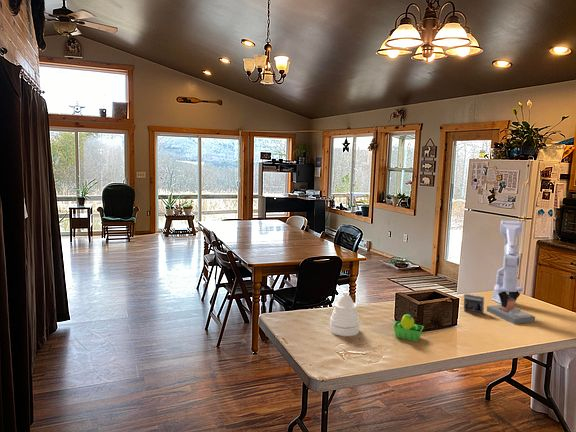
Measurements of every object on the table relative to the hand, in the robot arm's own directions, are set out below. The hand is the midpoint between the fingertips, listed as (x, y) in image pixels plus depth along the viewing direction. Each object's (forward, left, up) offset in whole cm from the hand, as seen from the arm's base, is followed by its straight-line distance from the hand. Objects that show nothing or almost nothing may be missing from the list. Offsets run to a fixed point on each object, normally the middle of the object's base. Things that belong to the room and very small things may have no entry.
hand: (507, 306), depth 215 cm
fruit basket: (+13, -63, -5) cm, 65 cm away
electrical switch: (-7, -14, -5) cm, 16 cm away
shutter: (+8, 0, -2) cm, 8 cm away
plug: (0, 0, -2) cm, 2 cm away
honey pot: (-1, -86, -5) cm, 86 cm away
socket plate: (+2, 0, -4) cm, 5 cm away
